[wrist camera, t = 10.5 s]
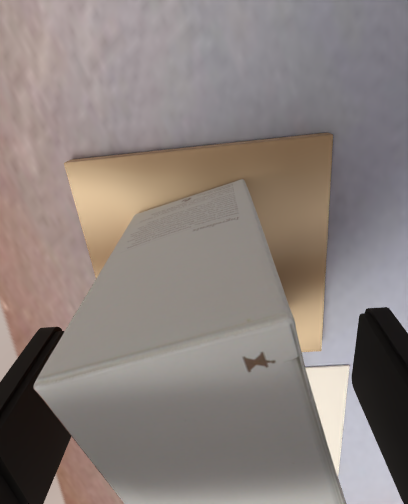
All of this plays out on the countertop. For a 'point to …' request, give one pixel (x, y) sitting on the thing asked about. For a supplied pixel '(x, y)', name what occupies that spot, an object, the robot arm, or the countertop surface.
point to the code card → (330, 403)
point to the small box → (192, 366)
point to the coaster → (215, 175)
